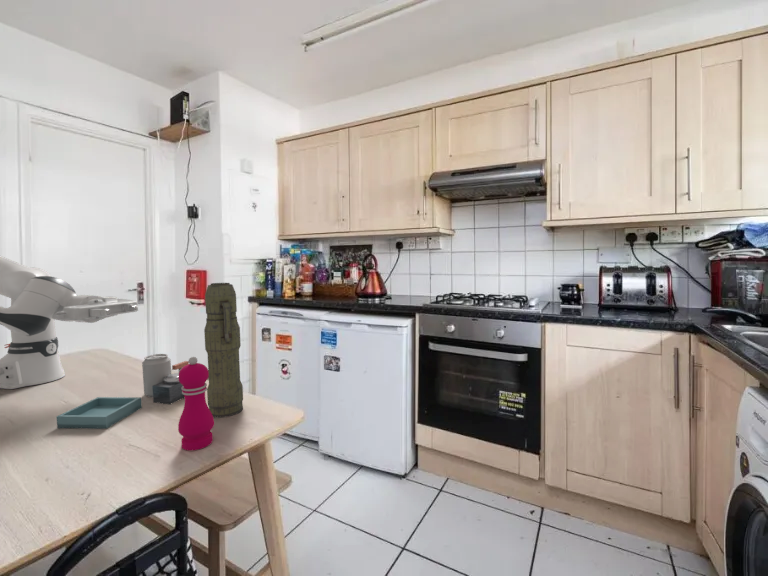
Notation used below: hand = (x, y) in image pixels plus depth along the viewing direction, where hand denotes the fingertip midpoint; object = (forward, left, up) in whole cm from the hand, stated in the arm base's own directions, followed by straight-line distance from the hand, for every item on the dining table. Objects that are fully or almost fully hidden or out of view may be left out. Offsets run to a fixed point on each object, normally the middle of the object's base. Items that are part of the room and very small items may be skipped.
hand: (122, 310), depth 115 cm
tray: (+8, -20, -26) cm, 33 cm away
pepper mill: (+41, -33, -26) cm, 58 cm away
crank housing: (+19, -4, -26) cm, 32 cm away
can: (+12, -3, -26) cm, 29 cm away
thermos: (+39, -15, -26) cm, 49 cm away
